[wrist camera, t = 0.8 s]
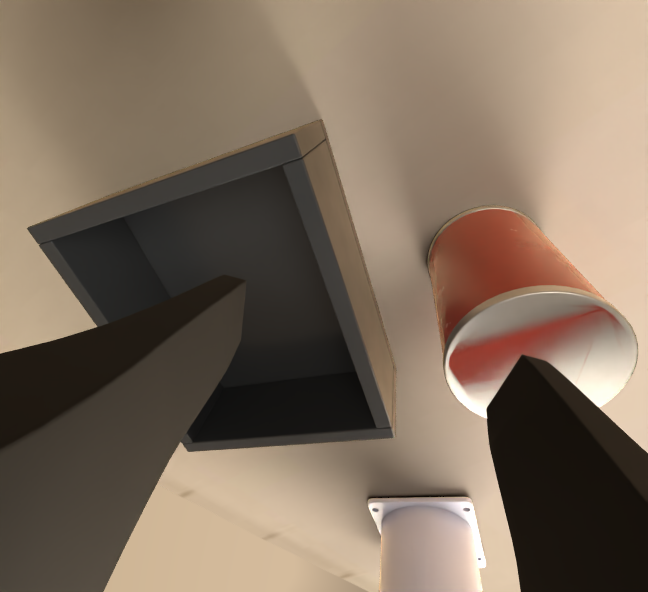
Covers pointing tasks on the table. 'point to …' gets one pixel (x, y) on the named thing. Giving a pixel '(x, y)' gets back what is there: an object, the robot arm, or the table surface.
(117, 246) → the drawer
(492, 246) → the tin can
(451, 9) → the table surface
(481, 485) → the table surface
